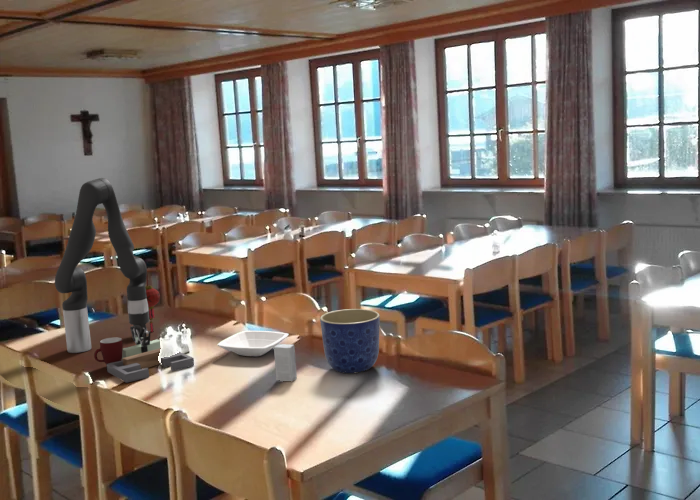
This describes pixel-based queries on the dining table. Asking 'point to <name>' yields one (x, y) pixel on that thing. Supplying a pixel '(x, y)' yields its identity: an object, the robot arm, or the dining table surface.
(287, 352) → the skincare box
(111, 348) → the mug
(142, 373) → the frame
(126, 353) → the sage slat
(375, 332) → the planter
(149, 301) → the lantern
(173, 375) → the dining table surface
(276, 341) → the bowl
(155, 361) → the walnut slat
